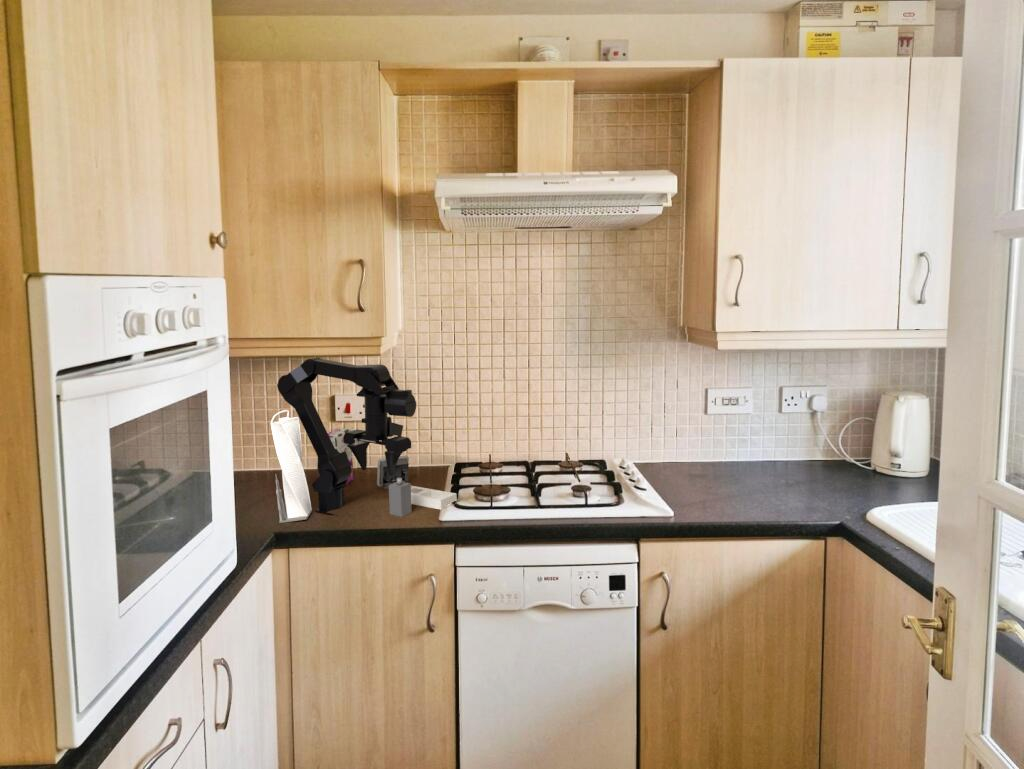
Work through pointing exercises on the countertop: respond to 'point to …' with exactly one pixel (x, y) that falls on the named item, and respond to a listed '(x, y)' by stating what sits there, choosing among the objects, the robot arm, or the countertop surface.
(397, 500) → the block
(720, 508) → the countertop surface
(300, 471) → the skyscraper
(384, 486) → the electrical switch
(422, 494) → the power strip
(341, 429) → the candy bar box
